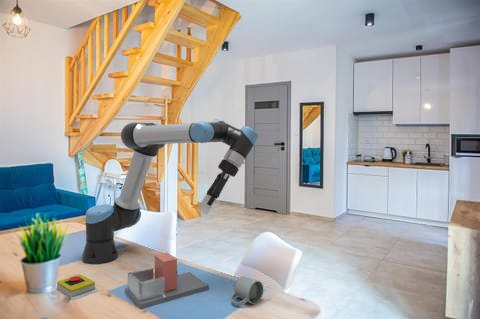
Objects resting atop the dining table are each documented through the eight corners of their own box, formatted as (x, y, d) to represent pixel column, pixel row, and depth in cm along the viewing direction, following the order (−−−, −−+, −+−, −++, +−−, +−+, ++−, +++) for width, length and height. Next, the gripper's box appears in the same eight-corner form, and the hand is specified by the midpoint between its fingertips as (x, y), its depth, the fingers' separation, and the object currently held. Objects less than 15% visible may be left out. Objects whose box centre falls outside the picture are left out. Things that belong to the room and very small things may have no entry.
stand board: (125, 291, 129) (124, 287, 129) (189, 275, 144) (189, 271, 144) (140, 308, 117) (140, 303, 116) (208, 289, 132) (208, 284, 132)
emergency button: (78, 269, 138) (99, 280, 129) (78, 280, 139) (99, 292, 129) (53, 277, 131) (73, 289, 122) (54, 289, 131) (74, 301, 122)
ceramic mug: (246, 292, 130) (246, 271, 129) (263, 299, 124) (264, 278, 123) (225, 302, 122) (225, 280, 122) (242, 311, 117) (242, 288, 116)
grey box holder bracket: (128, 289, 127) (127, 272, 127) (152, 283, 133) (152, 267, 132) (139, 301, 118) (139, 284, 118) (164, 294, 124) (164, 277, 123)
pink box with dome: (154, 283, 131) (154, 255, 131) (169, 280, 135) (169, 252, 134) (163, 291, 125) (163, 261, 124) (179, 287, 129) (179, 258, 128)
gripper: (245, 167, 126) (213, 220, 123) (234, 169, 151) (207, 213, 148) (227, 156, 125) (195, 208, 122) (218, 160, 150) (191, 204, 147)
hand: (201, 211), depth 135 cm, fingers open, 13 cm apart
